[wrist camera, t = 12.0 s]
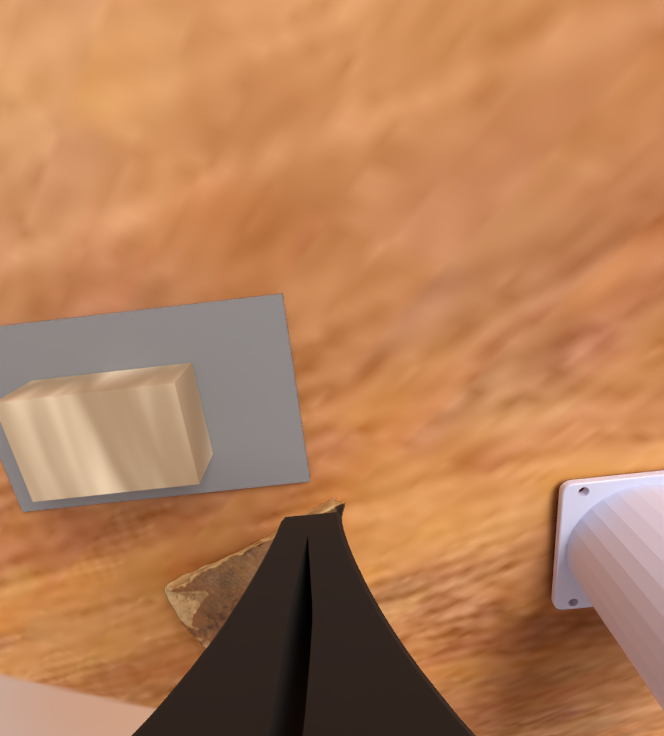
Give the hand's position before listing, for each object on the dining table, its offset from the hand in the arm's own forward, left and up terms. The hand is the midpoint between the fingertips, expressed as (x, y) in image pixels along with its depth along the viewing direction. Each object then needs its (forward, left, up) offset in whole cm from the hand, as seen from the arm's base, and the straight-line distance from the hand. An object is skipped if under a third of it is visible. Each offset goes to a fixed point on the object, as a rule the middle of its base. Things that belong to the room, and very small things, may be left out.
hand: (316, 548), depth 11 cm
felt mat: (+8, 0, -10) cm, 13 cm away
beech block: (+5, 0, -8) cm, 10 cm away
